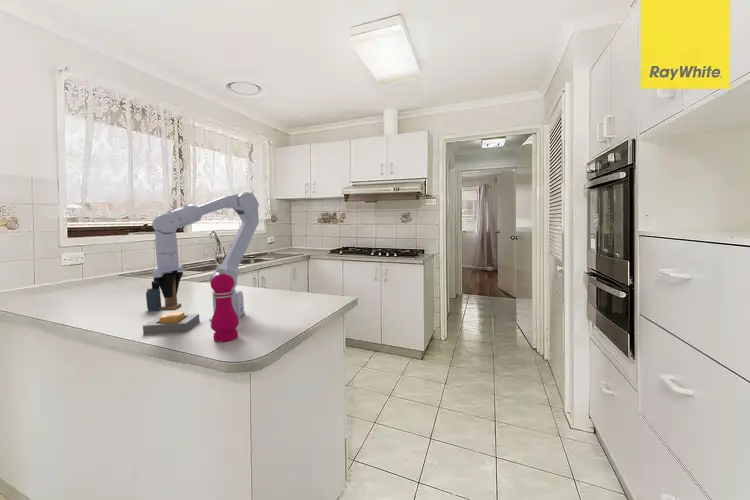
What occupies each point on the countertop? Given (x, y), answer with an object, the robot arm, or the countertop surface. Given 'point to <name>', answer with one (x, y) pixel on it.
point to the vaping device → (153, 297)
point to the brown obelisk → (171, 301)
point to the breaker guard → (171, 325)
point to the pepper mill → (224, 308)
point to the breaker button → (172, 317)
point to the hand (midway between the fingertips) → (170, 296)
